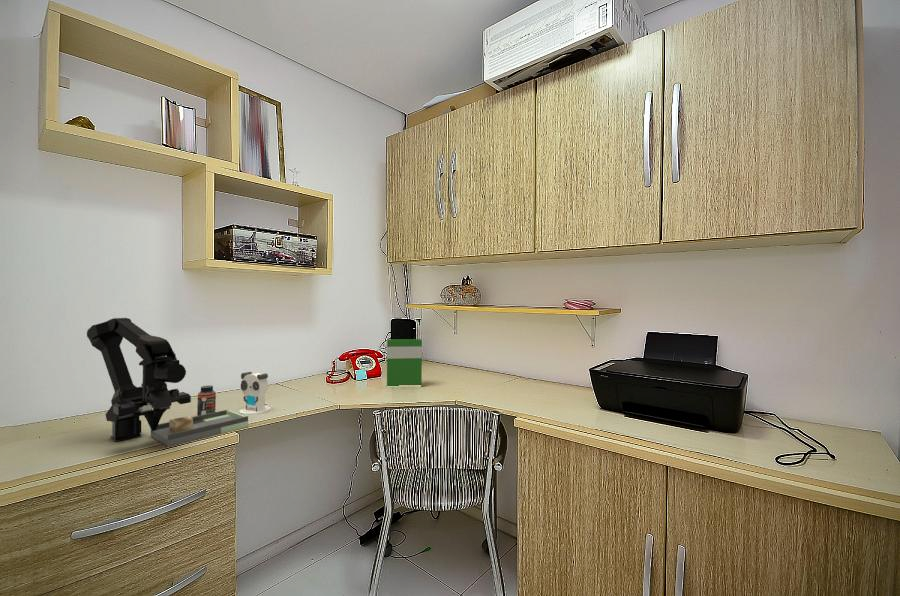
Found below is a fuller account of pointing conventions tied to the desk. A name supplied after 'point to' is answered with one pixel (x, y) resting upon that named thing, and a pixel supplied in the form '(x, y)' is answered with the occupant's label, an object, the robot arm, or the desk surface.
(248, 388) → the panda figurine
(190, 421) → the maple block
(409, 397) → the desk surface
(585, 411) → the desk surface
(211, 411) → the supplement bottle
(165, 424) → the shallow grey tray
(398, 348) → the hardback book
